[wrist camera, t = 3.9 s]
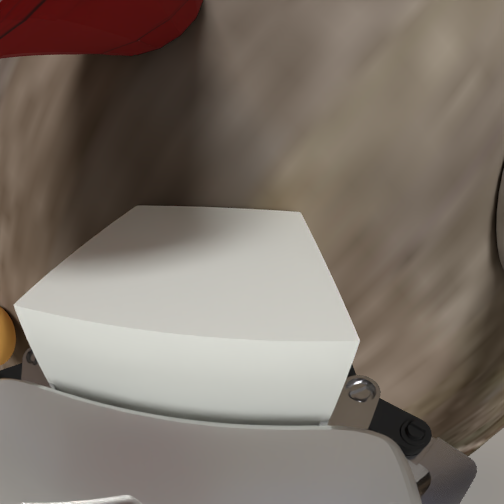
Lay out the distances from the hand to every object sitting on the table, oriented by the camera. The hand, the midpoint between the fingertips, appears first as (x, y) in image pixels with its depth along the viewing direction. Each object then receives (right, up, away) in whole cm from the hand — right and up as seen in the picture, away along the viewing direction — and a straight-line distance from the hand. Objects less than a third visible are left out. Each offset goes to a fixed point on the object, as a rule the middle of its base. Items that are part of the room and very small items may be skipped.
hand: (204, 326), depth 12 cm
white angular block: (0, +1, +3) cm, 3 cm away
